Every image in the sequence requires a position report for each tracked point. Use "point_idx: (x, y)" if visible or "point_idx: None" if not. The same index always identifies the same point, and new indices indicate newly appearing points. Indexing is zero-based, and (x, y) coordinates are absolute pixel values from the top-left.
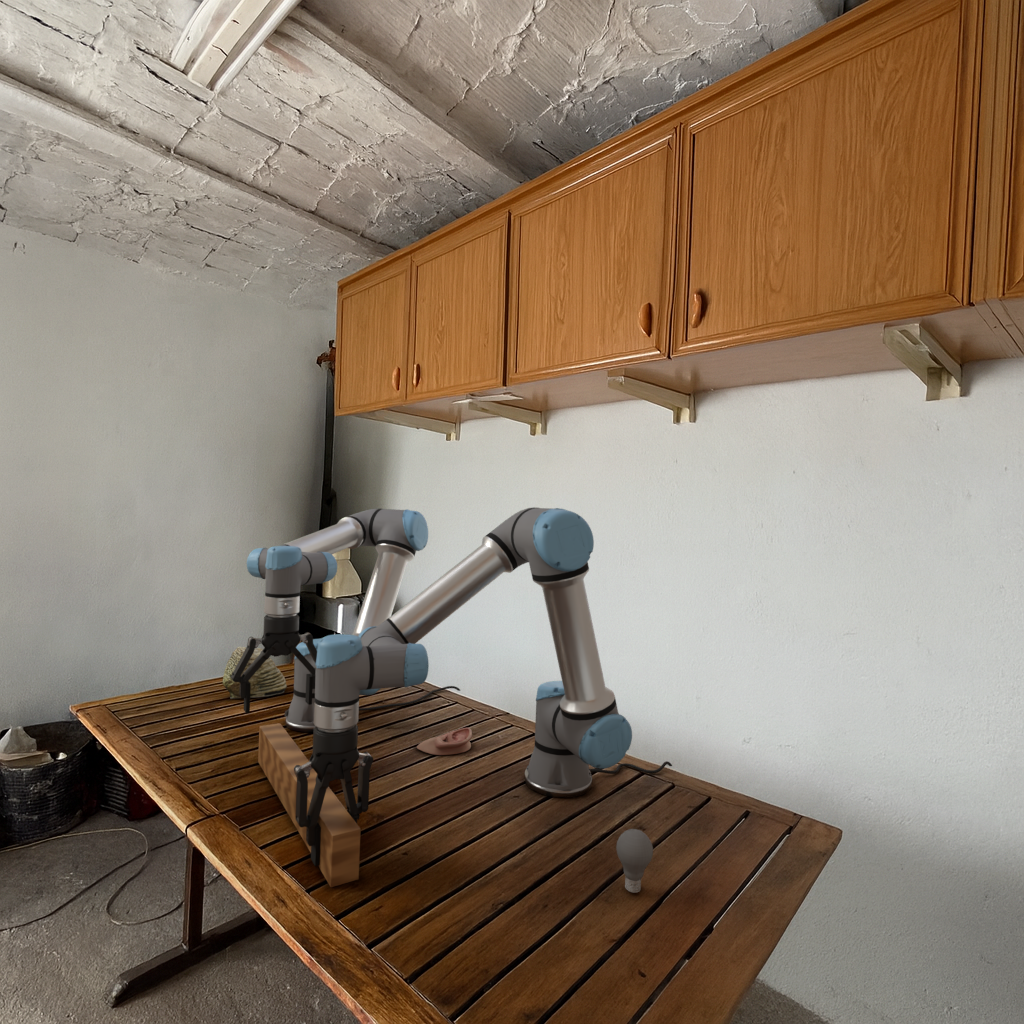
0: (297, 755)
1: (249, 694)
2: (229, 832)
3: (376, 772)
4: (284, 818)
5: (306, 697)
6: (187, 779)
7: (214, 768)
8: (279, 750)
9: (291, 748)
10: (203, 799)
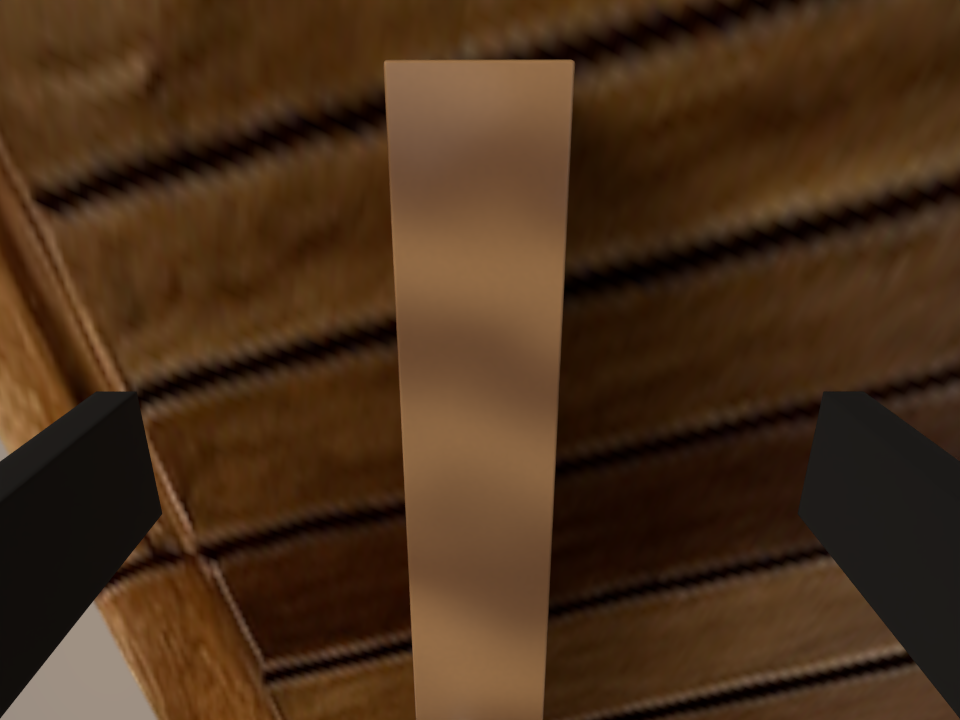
0: (507, 692)
1: (13, 687)
2: (229, 681)
3: None
4: None
5: (849, 457)
6: (23, 145)
7: (161, 49)
8: (430, 599)
9: (504, 598)
10: None
